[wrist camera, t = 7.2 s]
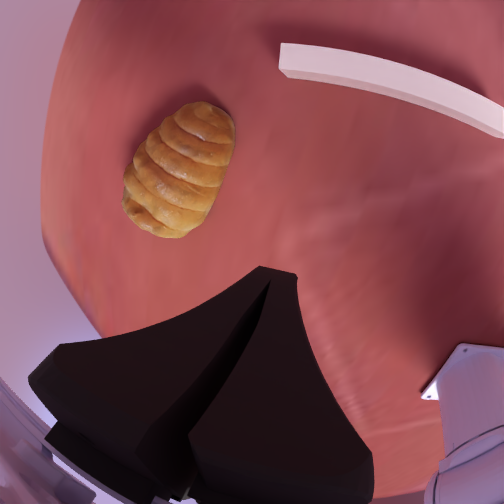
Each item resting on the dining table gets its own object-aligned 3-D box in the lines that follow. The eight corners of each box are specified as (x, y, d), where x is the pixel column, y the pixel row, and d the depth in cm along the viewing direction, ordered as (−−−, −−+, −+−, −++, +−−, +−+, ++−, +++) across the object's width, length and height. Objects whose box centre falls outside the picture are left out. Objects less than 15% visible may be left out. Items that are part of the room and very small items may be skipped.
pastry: (187, 84, 16) (155, 79, 13) (266, 138, 16) (249, 142, 13) (132, 187, 21) (101, 201, 17) (194, 238, 21) (169, 262, 18)
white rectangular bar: (496, 116, 10) (520, 118, 8) (494, 136, 11) (518, 142, 8) (290, 55, 13) (281, 42, 11) (288, 77, 14) (278, 68, 11)
